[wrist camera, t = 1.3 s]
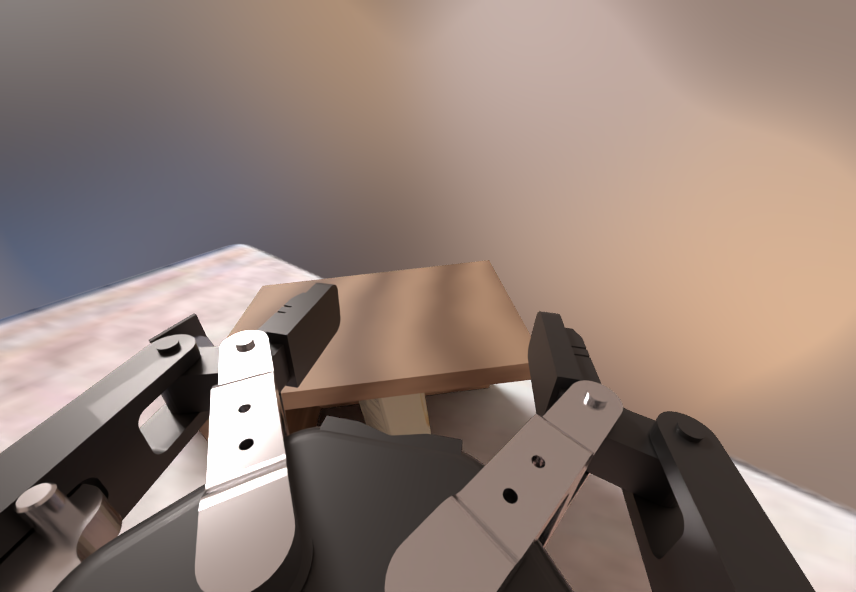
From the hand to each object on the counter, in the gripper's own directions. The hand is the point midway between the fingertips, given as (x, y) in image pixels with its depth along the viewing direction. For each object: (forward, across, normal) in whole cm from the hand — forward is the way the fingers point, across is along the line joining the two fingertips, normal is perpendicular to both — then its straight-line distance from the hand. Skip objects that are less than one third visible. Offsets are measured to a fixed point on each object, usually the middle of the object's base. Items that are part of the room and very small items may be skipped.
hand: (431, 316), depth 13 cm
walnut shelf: (+11, +4, +23) cm, 26 cm away
